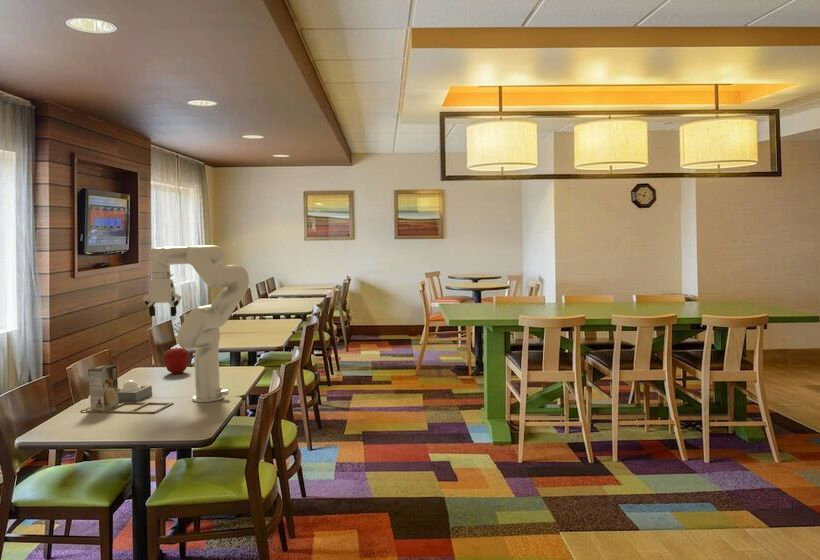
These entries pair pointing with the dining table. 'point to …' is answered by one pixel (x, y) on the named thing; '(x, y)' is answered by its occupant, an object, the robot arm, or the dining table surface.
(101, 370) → the coffee box
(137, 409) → the frame
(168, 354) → the apple
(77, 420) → the dining table surface
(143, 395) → the dome housing
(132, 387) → the dome
